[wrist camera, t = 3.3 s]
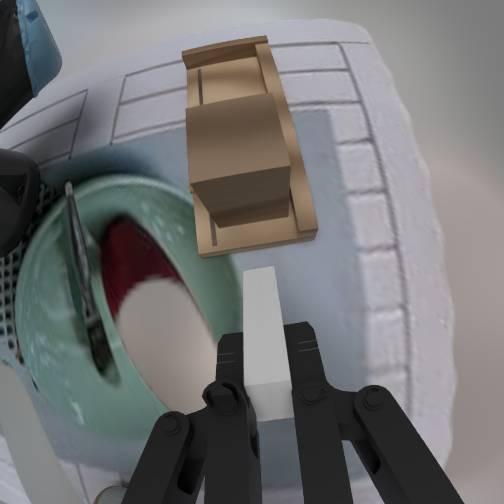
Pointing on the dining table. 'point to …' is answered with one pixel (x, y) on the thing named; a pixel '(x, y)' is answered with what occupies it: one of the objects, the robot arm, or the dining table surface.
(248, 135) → the brown wooden block
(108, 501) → the ceramic mug
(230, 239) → the brown wooden tray
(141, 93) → the dining table surface
